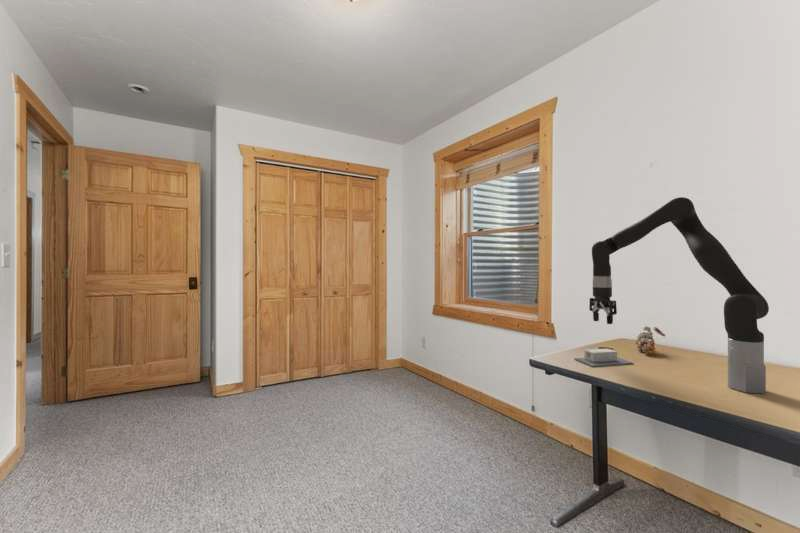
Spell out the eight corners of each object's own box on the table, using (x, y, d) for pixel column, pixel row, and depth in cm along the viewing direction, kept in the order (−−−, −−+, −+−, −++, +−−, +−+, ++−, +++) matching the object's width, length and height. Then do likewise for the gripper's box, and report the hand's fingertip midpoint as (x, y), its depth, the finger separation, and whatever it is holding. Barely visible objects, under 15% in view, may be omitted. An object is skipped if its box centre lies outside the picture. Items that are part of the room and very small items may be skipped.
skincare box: (592, 362, 162) (617, 361, 164) (593, 352, 162) (618, 351, 164) (583, 358, 168) (608, 358, 170) (584, 348, 168) (608, 348, 170)
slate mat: (592, 367, 157) (592, 365, 157) (574, 359, 169) (574, 358, 169) (633, 364, 161) (633, 362, 161) (613, 356, 172) (613, 355, 172)
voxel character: (637, 357, 177) (631, 338, 189) (659, 364, 175) (651, 343, 187) (649, 340, 171) (641, 321, 183) (671, 347, 169) (662, 327, 181)
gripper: (621, 286, 158) (622, 324, 158) (598, 285, 172) (599, 319, 172) (606, 287, 157) (606, 325, 157) (584, 285, 171) (584, 320, 171)
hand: (602, 322), depth 164 cm, fingers open, 8 cm apart
